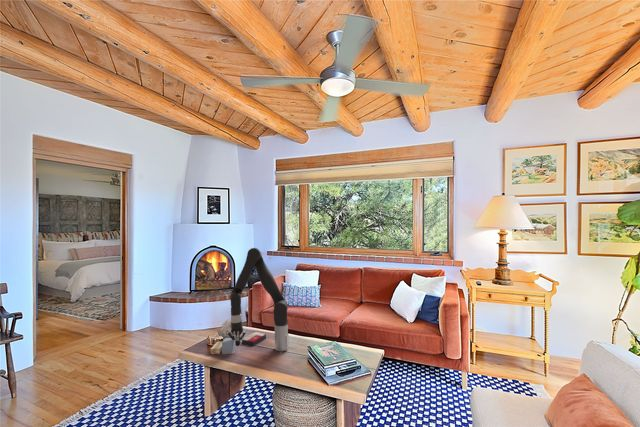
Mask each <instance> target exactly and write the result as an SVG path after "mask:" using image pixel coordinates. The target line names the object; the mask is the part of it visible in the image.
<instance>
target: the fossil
mask: <svg viewBox="0 0 640 427" xmlns="http://www.w3.org/2000/svg"><path fill="white" fill-rule="evenodd" d="M230 331H231V319H227V320H225V322H224V323H222V325H221V327H220V328H219V330H218V331H217V334H218V335H219V336H222V337H223V339H225V338H231V337H230V336H229V335H228V333H229V332H230ZM218 335H217V336H218Z"/></svg>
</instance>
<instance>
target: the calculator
mask: <svg viewBox="0 0 640 427" xmlns="http://www.w3.org/2000/svg"><path fill="white" fill-rule="evenodd" d="M265 340H267V334H266V333H262V332H256V331H254V332H253V333H250V334H248V335H247V336H245V337H243V338H242V339H241V343H242V345H247V346H252V347H254V346H256V345H258V344H259V343H261V342H262V341H265Z"/></svg>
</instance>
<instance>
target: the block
mask: <svg viewBox="0 0 640 427" xmlns="http://www.w3.org/2000/svg"><path fill="white" fill-rule="evenodd" d="M221 342H222V352H221V354H222V355H233V353H234V352H235V351H236V345H235V340H232V339H231V338H225V339H224V340H221Z"/></svg>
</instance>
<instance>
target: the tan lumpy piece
mask: <svg viewBox="0 0 640 427" xmlns="http://www.w3.org/2000/svg"><path fill="white" fill-rule="evenodd" d="M210 354H211V355H220V354H222V341H216V343H214V345H212V347H210Z"/></svg>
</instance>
